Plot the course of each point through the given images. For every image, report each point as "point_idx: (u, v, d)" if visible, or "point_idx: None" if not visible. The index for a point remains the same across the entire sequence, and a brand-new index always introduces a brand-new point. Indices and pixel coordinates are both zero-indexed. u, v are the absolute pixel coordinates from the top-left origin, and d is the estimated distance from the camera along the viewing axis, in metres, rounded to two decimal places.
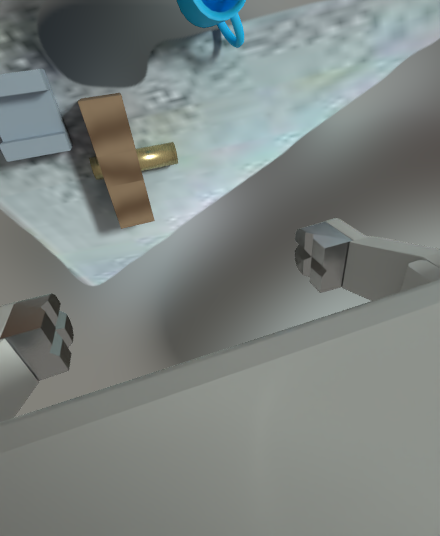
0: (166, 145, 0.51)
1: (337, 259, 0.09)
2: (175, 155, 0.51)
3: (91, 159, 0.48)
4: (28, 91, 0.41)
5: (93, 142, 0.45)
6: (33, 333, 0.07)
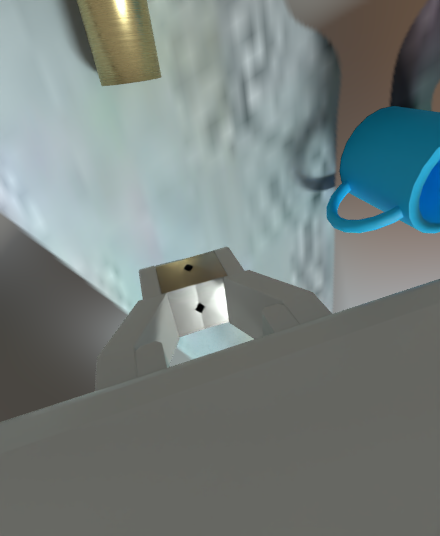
0: (155, 51, 0.17)
1: (214, 295, 0.09)
2: (133, 76, 0.17)
3: None
4: None
5: None
6: (188, 290, 0.08)
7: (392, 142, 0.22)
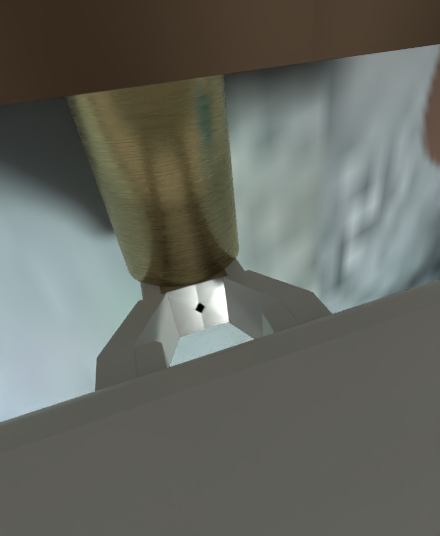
0: (235, 210, 0.09)
1: (214, 295, 0.09)
2: (199, 273, 0.08)
3: None
4: None
5: None
6: (188, 290, 0.08)
7: None
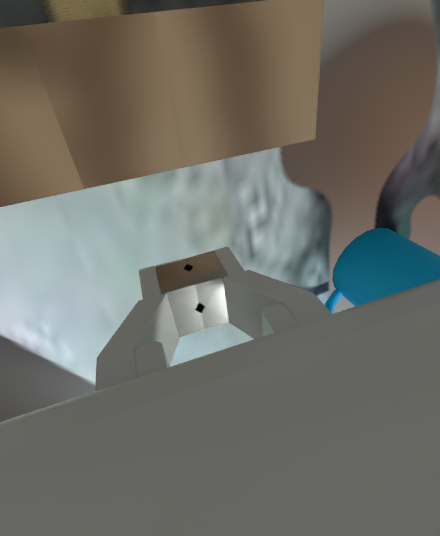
0: None
1: (214, 295, 0.09)
2: None
3: None
4: None
5: (207, 14, 0.12)
6: (188, 290, 0.08)
7: (378, 275, 0.26)
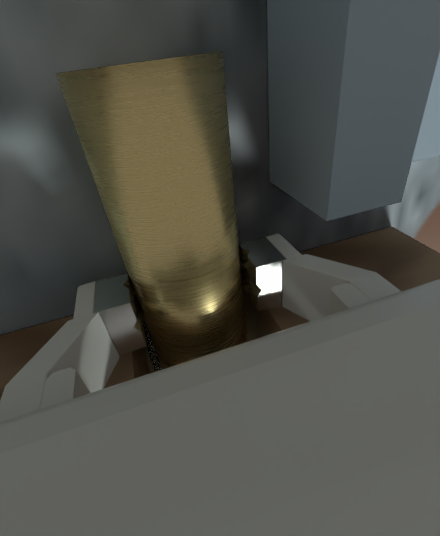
0: None
1: (272, 278, 0.09)
2: None
3: None
4: None
5: None
6: (122, 308, 0.08)
7: None
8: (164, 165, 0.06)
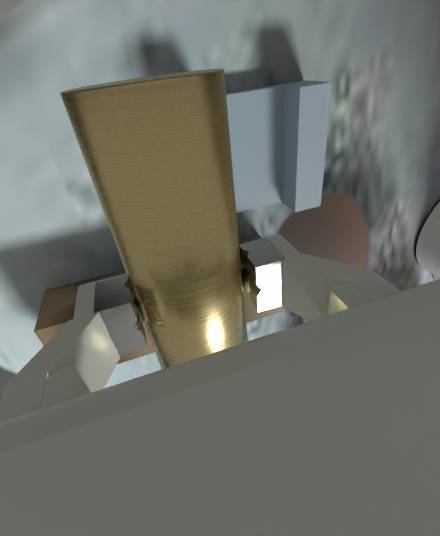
0: None
1: (271, 278, 0.09)
2: None
3: (225, 86, 0.07)
4: (297, 184, 0.24)
5: None
6: (123, 308, 0.08)
7: None
8: (167, 182, 0.06)
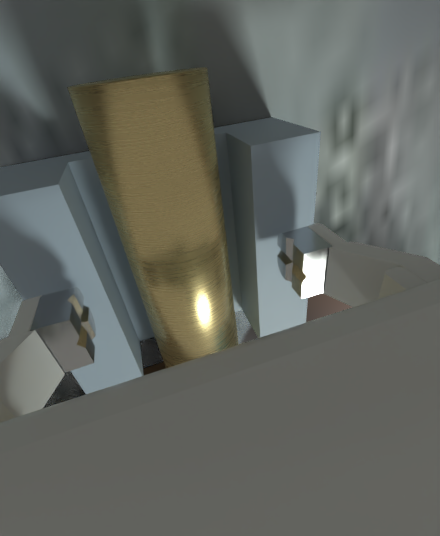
0: None
1: (317, 265, 0.09)
2: None
3: (208, 82, 0.08)
4: (261, 305, 0.13)
5: None
6: (62, 326, 0.08)
7: None
8: (156, 164, 0.07)
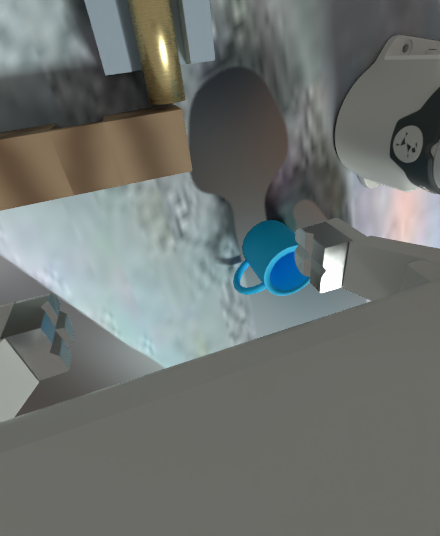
0: None
1: (337, 259, 0.09)
2: (170, 100, 0.29)
3: None
4: (188, 32, 0.27)
5: (126, 121, 0.28)
6: (33, 334, 0.07)
7: (259, 248, 0.42)
8: None
